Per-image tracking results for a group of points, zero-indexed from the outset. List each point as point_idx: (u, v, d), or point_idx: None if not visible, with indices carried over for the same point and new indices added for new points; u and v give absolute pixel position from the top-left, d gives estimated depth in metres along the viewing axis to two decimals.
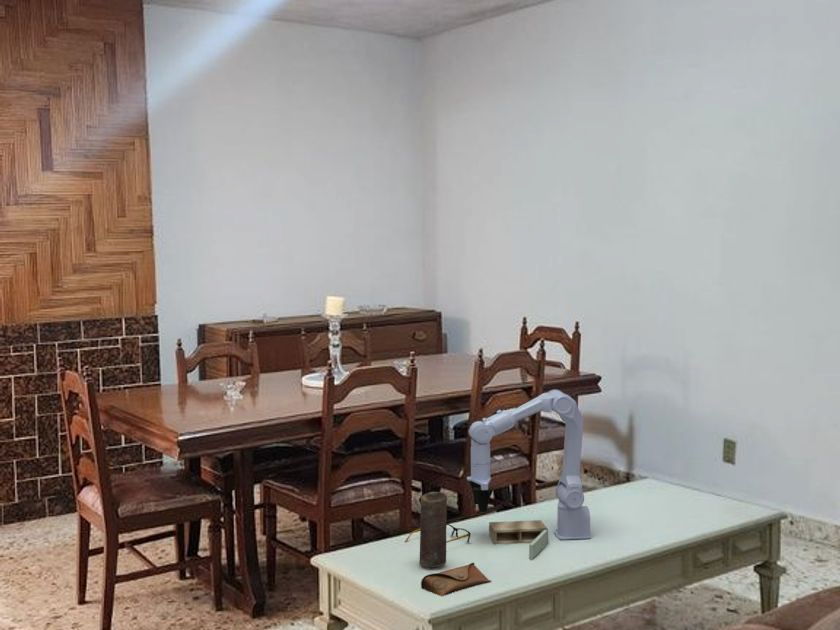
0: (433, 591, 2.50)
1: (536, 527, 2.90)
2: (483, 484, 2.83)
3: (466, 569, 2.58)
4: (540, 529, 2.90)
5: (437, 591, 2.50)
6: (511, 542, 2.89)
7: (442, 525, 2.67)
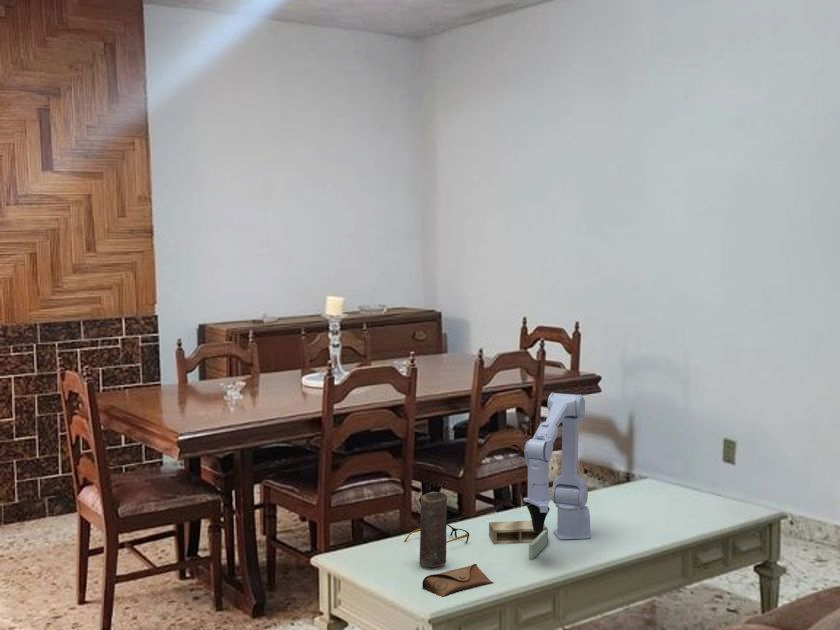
0: (434, 592, 2.50)
1: None
2: (542, 506, 2.63)
3: (468, 570, 2.57)
4: None
5: (437, 592, 2.49)
6: (511, 542, 2.89)
7: (442, 525, 2.67)
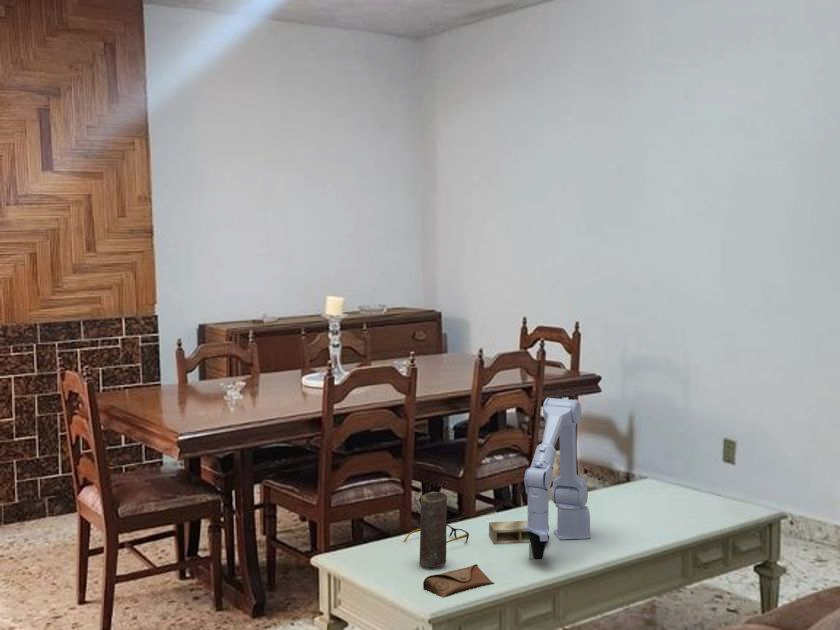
0: (435, 592, 2.50)
1: None
2: (542, 535, 2.63)
3: (469, 570, 2.57)
4: None
5: (438, 592, 2.49)
6: (511, 542, 2.89)
7: (442, 525, 2.67)
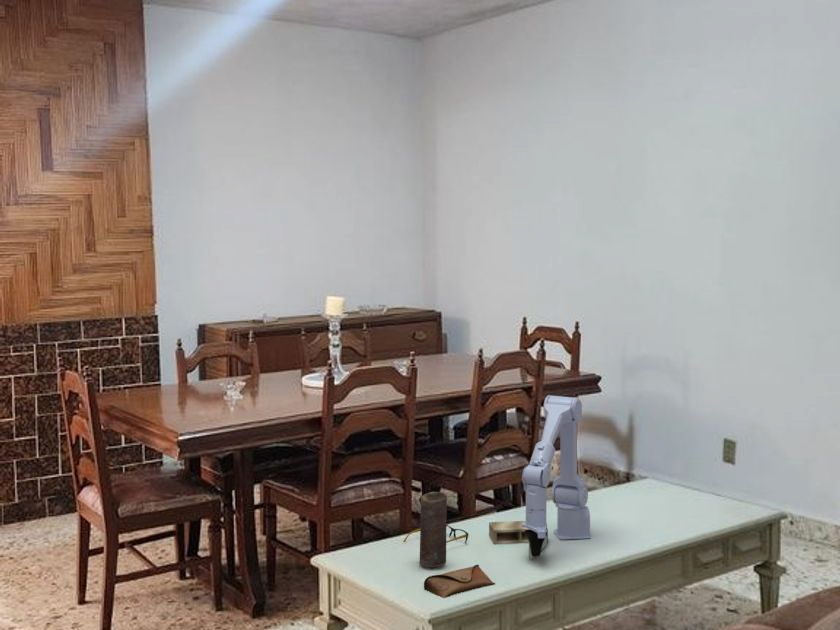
0: (435, 592, 2.49)
1: None
2: (540, 532, 2.66)
3: (470, 571, 2.56)
4: None
5: (439, 593, 2.48)
6: (511, 542, 2.89)
7: (442, 525, 2.67)
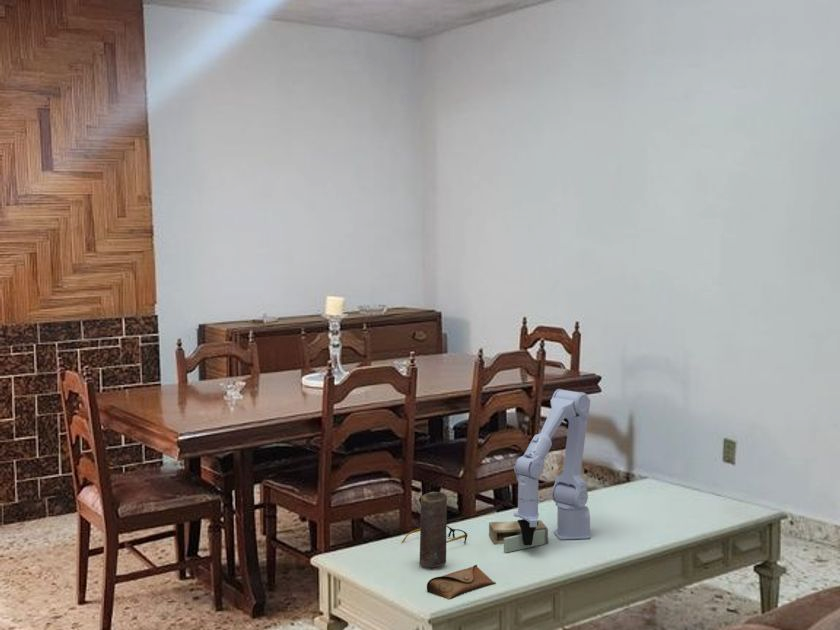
0: (440, 594, 2.48)
1: (536, 527, 2.90)
2: (532, 521, 2.75)
3: (471, 571, 2.56)
4: (540, 529, 2.90)
5: (444, 594, 2.47)
6: None
7: (442, 525, 2.67)
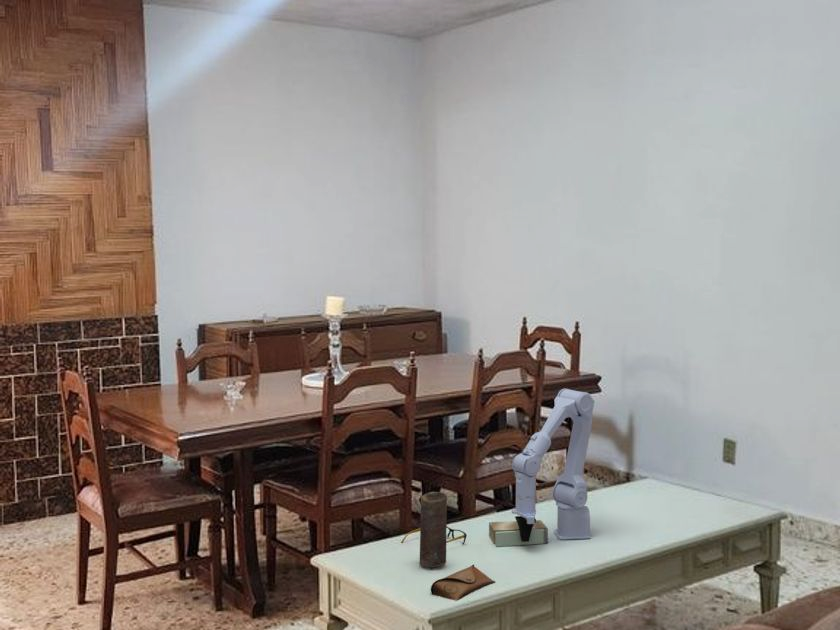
0: (446, 596, 2.47)
1: (536, 527, 2.90)
2: (529, 518, 2.78)
3: (471, 571, 2.56)
4: None
5: (450, 596, 2.46)
6: None
7: (442, 525, 2.67)
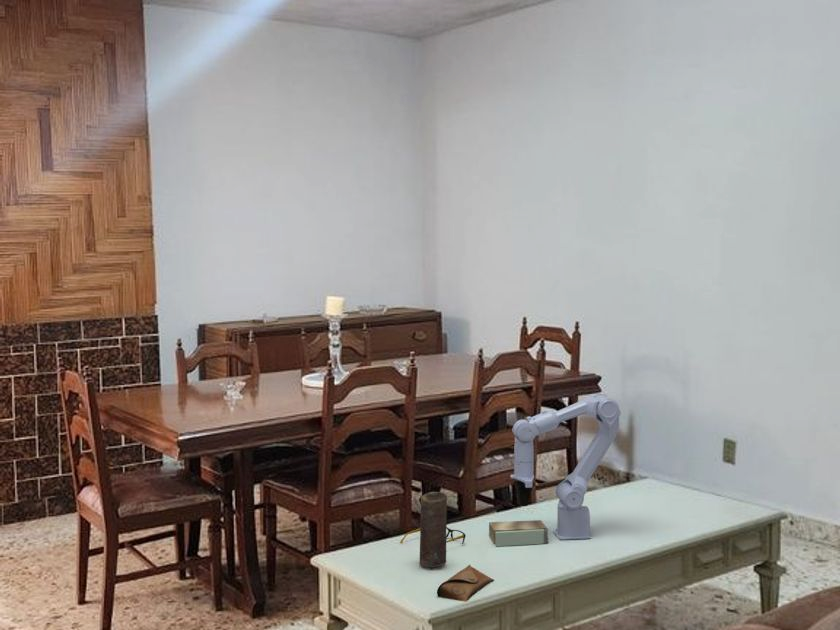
0: (454, 598, 2.46)
1: (536, 527, 2.90)
2: (527, 482, 2.86)
3: (471, 571, 2.56)
4: None
5: (459, 597, 2.45)
6: None
7: (442, 525, 2.67)
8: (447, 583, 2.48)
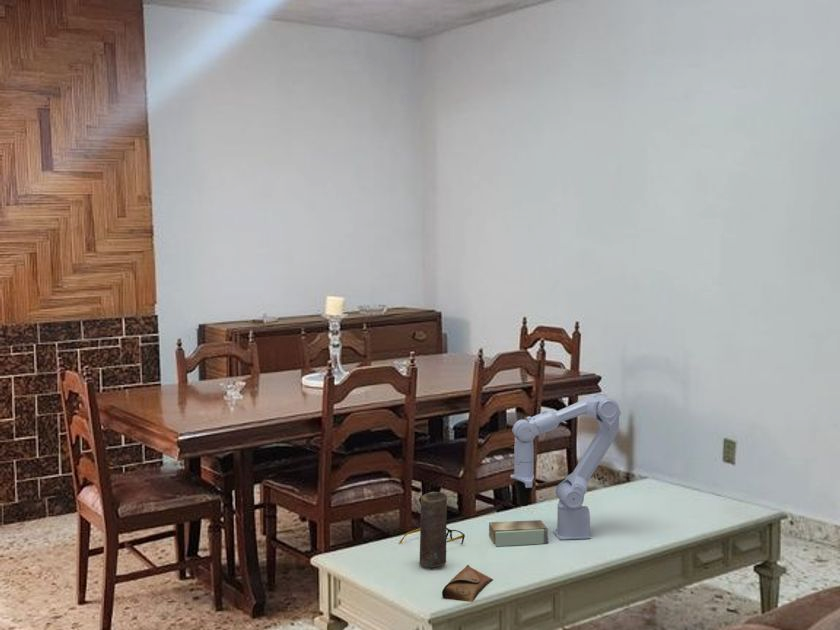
0: (460, 598, 2.45)
1: (536, 527, 2.90)
2: (527, 482, 2.86)
3: (472, 571, 2.56)
4: None
5: (465, 598, 2.45)
6: None
7: (442, 525, 2.67)
8: (452, 584, 2.48)
